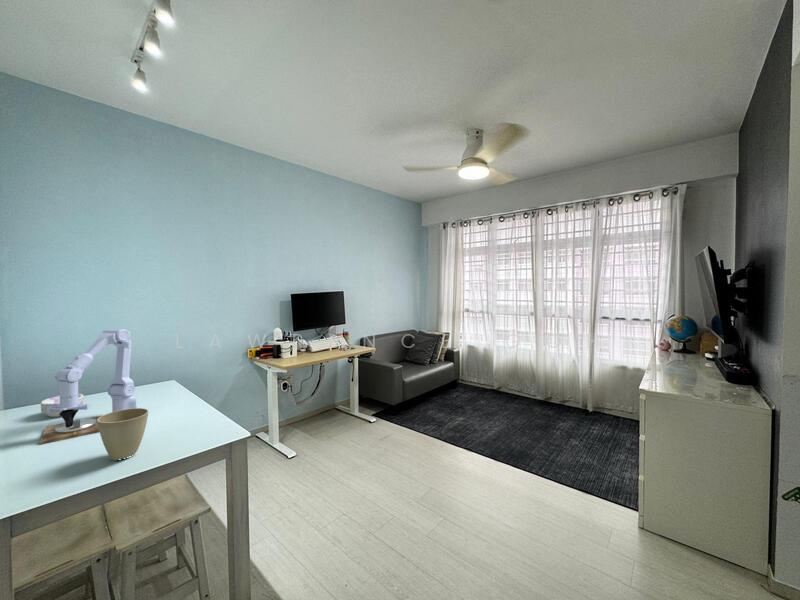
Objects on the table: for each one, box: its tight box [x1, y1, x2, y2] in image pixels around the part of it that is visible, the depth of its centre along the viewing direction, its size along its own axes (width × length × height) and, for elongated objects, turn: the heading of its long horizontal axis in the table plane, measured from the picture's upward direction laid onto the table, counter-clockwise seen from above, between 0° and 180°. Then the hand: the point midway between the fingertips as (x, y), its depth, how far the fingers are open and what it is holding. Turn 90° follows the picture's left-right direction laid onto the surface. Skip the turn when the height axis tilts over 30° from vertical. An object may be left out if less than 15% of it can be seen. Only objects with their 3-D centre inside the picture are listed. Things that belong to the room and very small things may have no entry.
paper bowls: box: [40, 393, 85, 418], centre depth 165 cm, size 15×15×8 cm
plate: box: [39, 415, 102, 446], centre depth 146 cm, size 20×20×1 cm
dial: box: [55, 418, 96, 433], centre depth 146 cm, size 13×13×4 cm
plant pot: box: [97, 407, 149, 461], centre depth 124 cm, size 15×15×16 cm
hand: (69, 426), depth 141 cm, fingers closed, pressing on dial
